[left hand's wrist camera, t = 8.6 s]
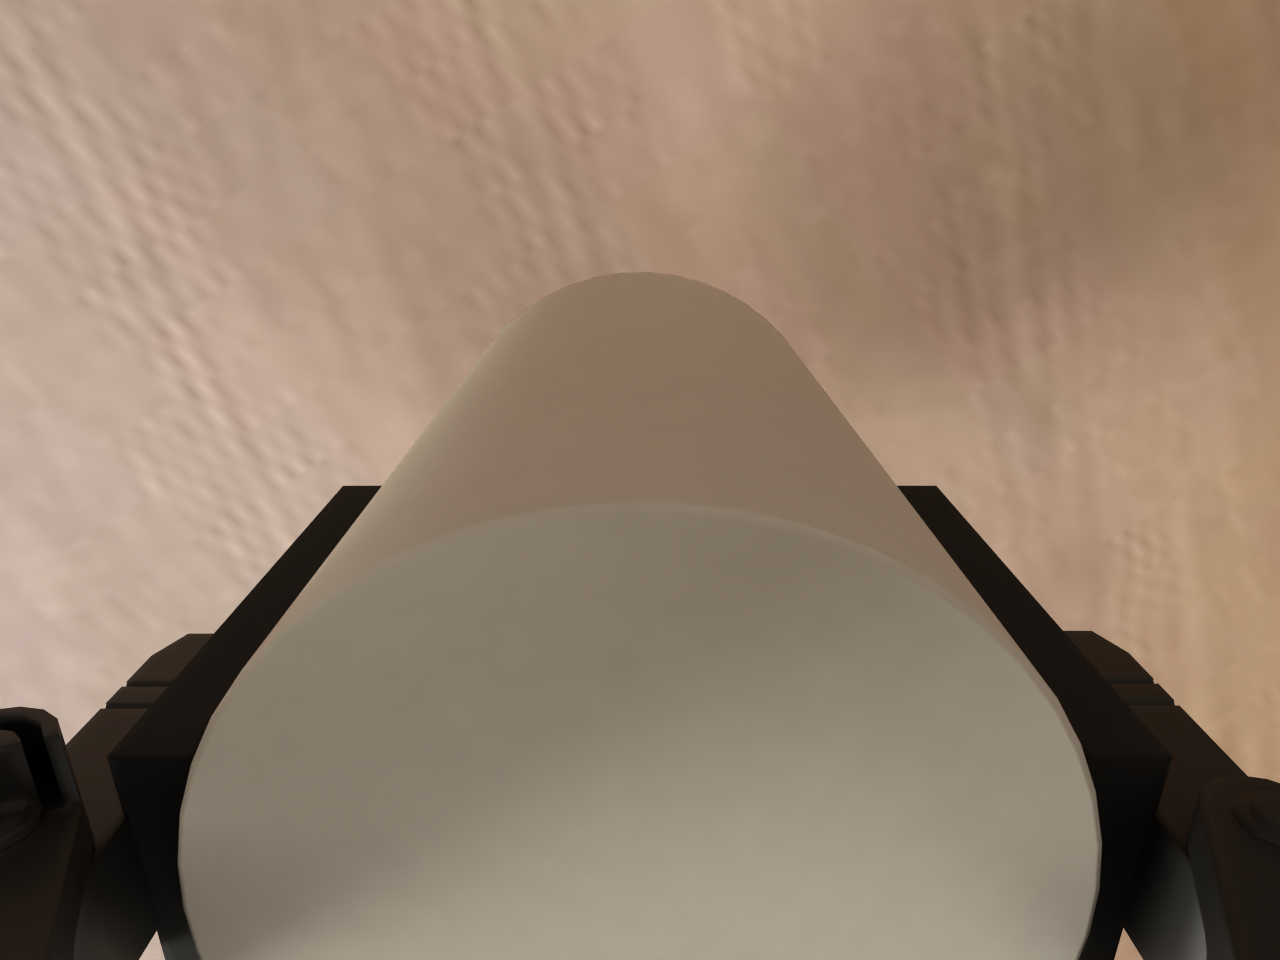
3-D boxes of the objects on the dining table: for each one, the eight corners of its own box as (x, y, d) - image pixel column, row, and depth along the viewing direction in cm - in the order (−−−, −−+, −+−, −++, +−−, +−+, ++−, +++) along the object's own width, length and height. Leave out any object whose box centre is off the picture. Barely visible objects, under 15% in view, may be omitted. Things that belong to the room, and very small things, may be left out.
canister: (406, 320, 17) (-7, 625, 6) (793, 230, 17) (1093, 394, 6) (513, 647, 20) (361, 1249, 9) (847, 581, 20) (1115, 1143, 9)
